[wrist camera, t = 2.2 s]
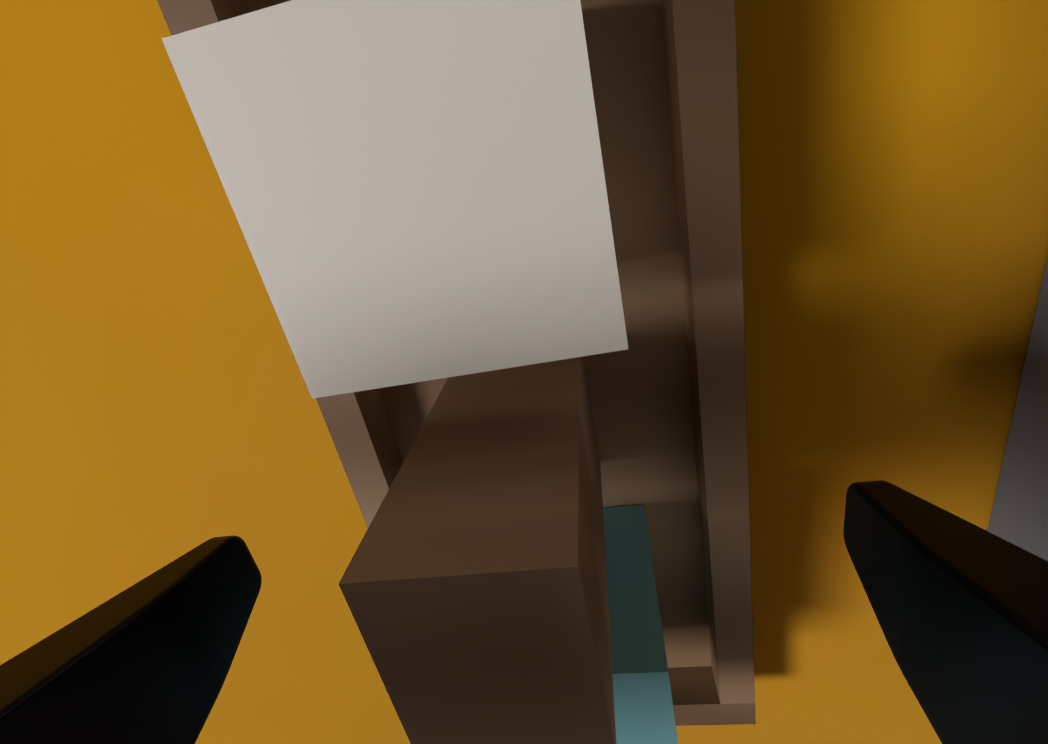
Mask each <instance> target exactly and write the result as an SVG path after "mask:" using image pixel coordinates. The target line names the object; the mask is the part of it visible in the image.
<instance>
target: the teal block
mask: <svg viewBox="0 0 1048 744" xmlns="http://www.w3.org/2000/svg"><path fill="white" fill-rule="evenodd" d="M603 517H604V535H605V552H606V570H607V587H608V605H609V622H610V640H611V658H612V675H613V693H614V710H615V728H616V744H678V740H677V732H676V725H675V717H674V709H673V702H672V694H671V687H670V679H669V671H668V665H667V658H666V651H665V644H664V638H663V631H662V624H661V618H660V611H659V604H658V597H657V591H656V584H655V577H654V571H653V564H652V557H651V550H650V544H649V537H648V530H647V524H646V517H645V510H644V504H643V505H632V506H621V507H609V508H603Z"/></svg>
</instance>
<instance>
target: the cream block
mask: <svg viewBox="0 0 1048 744" xmlns="http://www.w3.org/2000/svg"><path fill="white" fill-rule="evenodd" d="M162 41H163V43H164V46H165V48H166V50H167V53H168V55H169V58H170V60H171V62H172V65H173V67H174V70H175V72H176V74H177V77H178V79H179V81H180V84H181V86H182V89H183V91H184V93H185V96H186V98H187V101H188V103H189V105H190V108H191V110H192V113H193V115H194V117H195V120H196V122H197V125H198V127H199V129H200V132H201V134H202V137H203V139H204V141H205V144H206V146H207V149H208V151H209V153H210V156H211V158H212V160H213V163H214V165H215V168H216V170H217V172H218V175H219V177H220V180H221V182H222V184H223V187H224V189H225V192H226V194H227V196H228V199H229V201H230V204H231V206H232V208H233V211H234V213H235V216H236V218H237V220H238V223H239V225H240V228H241V230H242V232H243V235H244V237H245V239H246V242H247V244H248V247H249V249H250V251H251V254H252V256H253V259H254V261H255V263H256V266H257V268H258V271H259V273H260V275H261V278H262V280H263V283H264V285H265V287H266V290H267V292H268V295H269V297H270V299H271V302H272V304H273V306H274V309H275V311H276V314H277V316H278V318H279V321H280V323H281V326H282V328H283V330H284V333H285V335H286V338H287V340H288V342H289V345H290V347H291V350H292V352H293V354H294V357H295V359H296V362H297V364H298V366H299V369H300V371H301V374H302V376H303V378H304V381H305V383H306V385H307V388H308V390H309V393H310V395H311V397H312V399H314V398H320V397H326V396H333V395H339V394H346V393H352V392H358V391H365V390H371V389H378V388H384V387H390V386H397V385H403V384H410V383H416V382H422V381H429V380H435V379H442V378H448V377H454V376H461V375H467V374H474V373H480V372H486V371H493V370H499V369H506V368H512V367H518V366H525V365H531V364H538V363H544V362H550V361H557V360H563V359H570V358H576V357H583V356H589V355H595V354H602V353H608V352H615V351H621V350H627V349H628V342H627V335H626V327H625V320H624V313H623V306H622V298H621V291H620V284H619V277H618V269H617V262H616V255H615V248H614V241H613V233H612V226H611V219H610V212H609V204H608V197H607V190H606V183H605V175H604V168H603V161H602V154H601V146H600V139H599V132H598V125H597V118H596V110H595V103H594V96H593V89H592V81H591V74H590V67H589V60H588V52H587V45H586V38H585V31H584V24H583V16H582V9H581V2H580V0H291V1H287V2H284V3H281V4H277V5H274V6H270V7H267V8H264V9H260V10H257V11H253V12H250V13H247V14H243V15H240V16H237V17H233V18H230V19H226V20H223V21H220V22H216V23H213V24H209V25H206V26H203V27H199V28H196V29H193V30H189V31H186V32H182V33H179V34H176V35H172V36H169V37H166V38H162Z"/></svg>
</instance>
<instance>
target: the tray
mask: <svg viewBox="0 0 1048 744" xmlns="http://www.w3.org/2000/svg"><path fill="white" fill-rule="evenodd" d="M988 532H990V533H992V534H994V535H996V536H998V537H1000V538H1002V539H1004V540H1006V541H1008V542H1010V543H1012V544H1014V545H1016V546H1018V547H1020V548H1022V549H1024V550H1026V551H1028V552H1030V553H1032V554H1034V555H1036V556H1038V557H1040V558H1042V559H1044V560H1047V561H1048V258H1047V263H1046V267H1045V272H1044V276H1043V281H1042V285H1041V290H1040V295H1039V299H1038V304H1037V308H1036V313H1035V317H1034V322H1033V327H1032V331H1031V336H1030V340H1029V345H1028V349H1027V354H1026V359H1025V363H1024V368H1023V372H1022V377H1021V381H1020V386H1019V391H1018V395H1017V400H1016V404H1015V409H1014V413H1013V418H1012V423H1011V427H1010V432H1009V436H1008V441H1007V445H1006V450H1005V455H1004V459H1003V464H1002V468H1001V473H1000V477H999V482H998V486H997V491H996V496H995V500H994V505H993V509H992V514H991V518H990V523H989V528H988Z"/></svg>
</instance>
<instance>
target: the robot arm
mask: <svg viewBox="0 0 1048 744" xmlns="http://www.w3.org/2000/svg"><path fill="white" fill-rule="evenodd" d="M844 540H845V544H846V547H847V550H848V553H849V555H850V557H851V559H852V562H853V564H854V566H855V569H856V571H857V573H858V576H859V578H860V580H861V582H862V585H863V587H864V589H865V592H866V594H867V596H868V598H869V601H870V603H871V605H872V608H873V610H874V612H875V615H876V617H877V619H878V621H879V624H880V626H881V628H882V631H883V633H884V635H885V637H886V640H887V642H888V644H889V646H890V649H891V651H892V653H893V655H894V657H895V659H896V661H897V663H898V665H899V667H900V669H901V671H902V673H903V675H904V677H905V678H906V680H907V682H908V684H909V686H910V688H911V689H912V691H913V693H914V695H915V696H916V698H917V700H918V702H919V703H920V705H921V707H922V709H923V710H924V712H925V714H926V716H927V718H928V719H929V721H930V723H931V725H932V726H933V728H934V730H935V732H936V733H937V735H938V737H939V739H940V741H941V742H942V744H1048V561H1047V560H1044V559H1042V558H1040V557H1038V556H1036V555H1034V554H1032V553H1030V552H1028V551H1026V550H1024V549H1022V548H1020V547H1018V546H1016V545H1014V544H1012V543H1010V542H1008V541H1006V540H1004V539H1002V538H1000V537H998V536H996V535H994V534H992V533H990V532H988V531H986V530H984V529H982V528H980V527H978V526H976V525H974V524H972V523H970V522H968V521H966V520H964V519H962V518H960V517H958V516H956V515H954V514H952V513H950V512H948V511H946V510H944V509H942V508H940V507H938V506H935V505H933V504H931V503H929V502H927V501H925V500H923V499H921V498H919V497H917V496H915V495H913V494H911V493H909V492H907V491H905V490H903V489H901V488H899V487H897V486H895V485H893V484H891V483H889V482H886V481H867V482H856V483H853V484H851V485H850V486H849V487H848V489H847V494H846V506H845V519H844ZM260 588H261V573H260V571H259V569H258V567H257V565H256V563H255V561H254V559H253V557H252V555H251V553H250V551H249V549H248V547H247V545H246V543H245V542H244V540H243V539H241V538H240V537H238V536H224V537H215V538H212V539H209V540H208V541H206V542H204V543H203V544H201V545H199V546H198V547H196V548H194V549H193V550H191V551H189V552H188V553H186V554H184V555H183V556H181V557H179V558H178V559H176V560H174V561H173V562H171V563H169V564H168V565H166V566H164V567H163V568H161V569H159V570H158V571H156V572H154V573H153V574H151V575H149V576H148V577H146V578H144V579H143V580H141V581H139V582H138V583H136V584H134V585H133V586H131V587H130V588H128V589H126V590H125V591H123V592H121V593H120V594H118V595H116V596H115V597H113V598H111V599H110V600H108V601H106V602H105V603H103V604H101V605H100V606H98V607H96V608H95V609H93V610H91V611H90V612H88V613H86V614H85V615H83V616H81V617H80V618H78V619H76V620H75V621H73V622H71V623H70V624H68V625H66V626H65V627H63V628H61V629H60V630H58V631H56V632H55V633H53V634H51V635H50V636H48V637H47V638H45V639H43V640H42V641H40V642H38V643H37V644H35V645H33V646H32V647H30V648H28V649H27V650H25V651H23V652H22V653H20V654H18V655H17V656H15V657H13V658H12V659H10V660H8V661H7V662H5V663H3V664H2V665H0V744H195V742H196V740H197V738H198V736H199V734H200V732H201V730H202V728H203V726H204V724H205V722H206V720H207V718H208V716H209V714H210V711H211V709H212V707H213V705H214V703H215V701H216V699H217V697H218V695H219V692H220V690H221V688H222V686H223V684H224V681H225V679H226V676H227V674H228V671H229V669H230V666H231V664H232V661H233V659H234V656H235V653H236V651H237V648H238V646H239V643H240V640H241V638H242V635H243V633H244V630H245V627H246V625H247V622H248V620H249V617H250V615H251V612H252V609H253V607H254V604H255V602H256V599H257V596H258V594H259V591H260Z"/></svg>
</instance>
